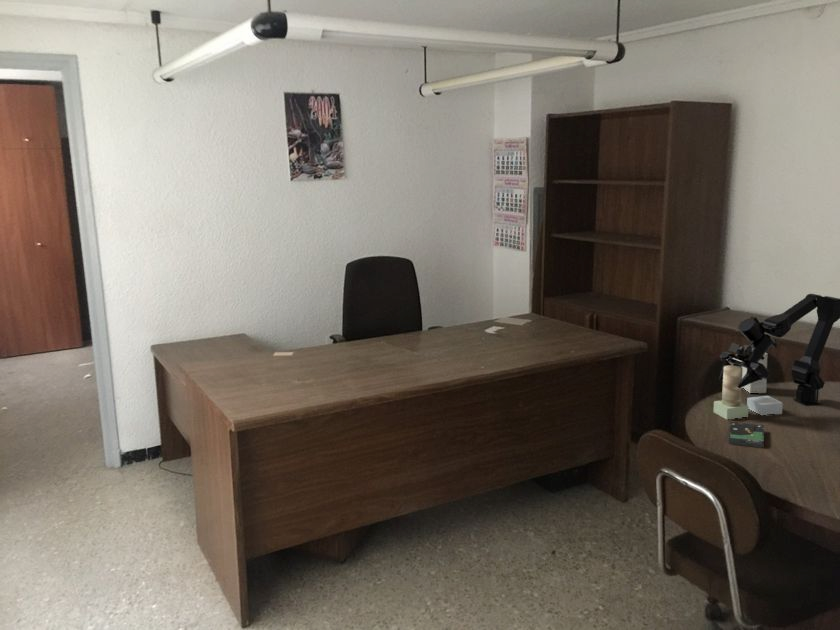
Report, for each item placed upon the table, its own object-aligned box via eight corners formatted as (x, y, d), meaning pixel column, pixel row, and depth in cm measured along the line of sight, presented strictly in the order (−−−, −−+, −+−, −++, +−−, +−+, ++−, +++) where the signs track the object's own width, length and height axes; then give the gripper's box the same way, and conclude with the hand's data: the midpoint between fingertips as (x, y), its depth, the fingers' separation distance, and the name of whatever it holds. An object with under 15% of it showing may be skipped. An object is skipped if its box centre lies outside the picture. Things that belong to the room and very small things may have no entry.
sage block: (734, 409, 251) (734, 399, 251) (748, 417, 244) (748, 406, 243) (713, 412, 250) (713, 401, 249) (726, 419, 242) (727, 408, 242)
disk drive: (729, 429, 236) (727, 445, 222) (729, 421, 235) (728, 436, 222) (763, 433, 231) (764, 449, 218) (763, 424, 231) (764, 440, 218)
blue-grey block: (767, 406, 253) (767, 395, 253) (782, 413, 246) (782, 402, 245) (746, 408, 252) (747, 397, 251) (761, 416, 244) (761, 405, 244)
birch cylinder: (739, 401, 248) (741, 365, 245) (741, 407, 242) (743, 370, 240) (721, 400, 250) (722, 365, 247) (722, 406, 244) (724, 369, 242)
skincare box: (766, 393, 267) (768, 353, 263) (748, 394, 267) (751, 354, 264) (756, 386, 275) (758, 348, 272) (739, 387, 275) (741, 348, 272)
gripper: (725, 329, 251) (697, 362, 250) (764, 340, 233) (735, 377, 233) (742, 348, 255) (715, 381, 254) (782, 361, 237) (753, 396, 236)
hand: (728, 383), depth 244 cm, fingers open, 9 cm apart
